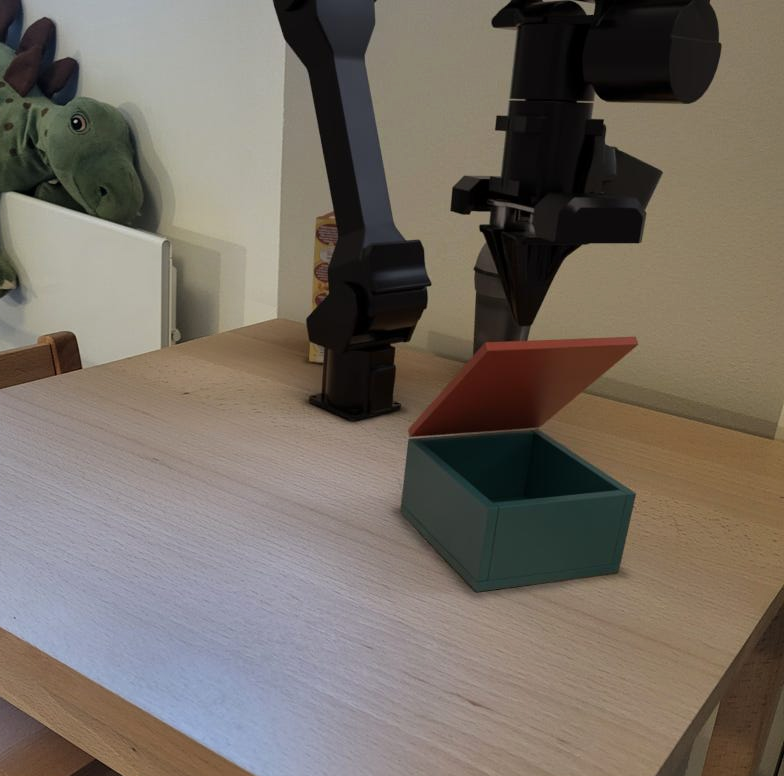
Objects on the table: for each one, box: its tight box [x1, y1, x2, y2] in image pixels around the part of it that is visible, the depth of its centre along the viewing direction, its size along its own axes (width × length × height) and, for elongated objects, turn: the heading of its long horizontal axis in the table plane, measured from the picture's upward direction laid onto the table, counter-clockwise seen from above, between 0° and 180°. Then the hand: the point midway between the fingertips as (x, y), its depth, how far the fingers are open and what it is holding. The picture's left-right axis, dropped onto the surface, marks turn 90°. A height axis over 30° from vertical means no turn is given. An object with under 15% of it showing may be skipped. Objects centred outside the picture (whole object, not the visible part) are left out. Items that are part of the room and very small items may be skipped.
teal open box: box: [399, 428, 637, 593], centre depth 61 cm, size 11×10×6 cm
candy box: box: [308, 210, 338, 364], centre depth 99 cm, size 9×4×15 cm, turn 163°
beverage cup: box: [472, 242, 532, 357], centre depth 92 cm, size 7×7×20 cm
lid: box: [407, 336, 639, 438], centre depth 59 cm, size 12×10×1 cm
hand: (523, 325), depth 69 cm, fingers closed
